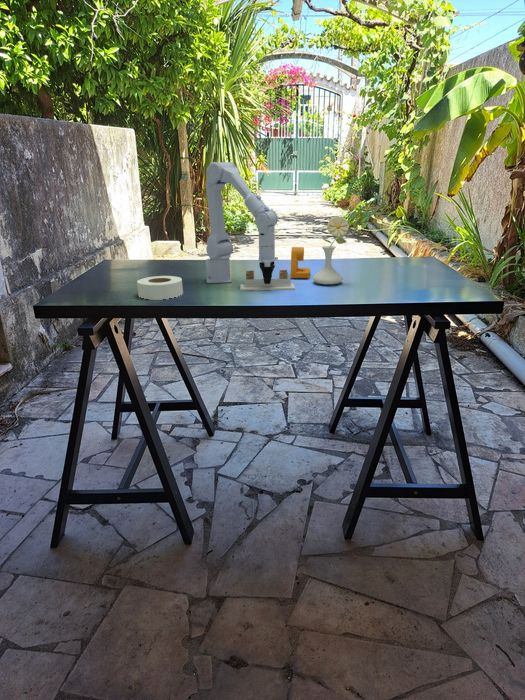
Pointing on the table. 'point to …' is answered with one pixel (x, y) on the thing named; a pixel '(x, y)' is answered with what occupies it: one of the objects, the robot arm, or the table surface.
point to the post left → (249, 274)
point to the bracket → (296, 256)
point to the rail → (261, 284)
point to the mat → (267, 288)
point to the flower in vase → (337, 229)
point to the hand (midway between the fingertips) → (267, 282)
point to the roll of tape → (160, 287)
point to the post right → (283, 274)
